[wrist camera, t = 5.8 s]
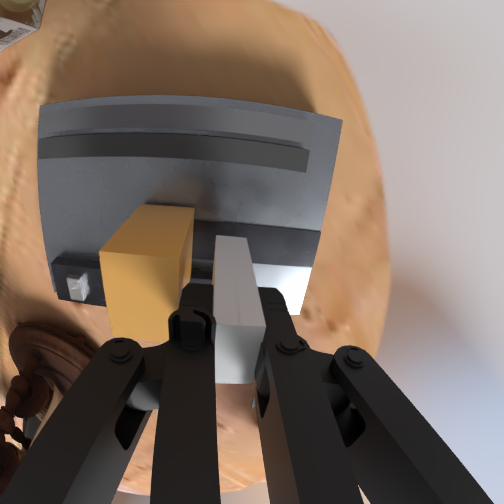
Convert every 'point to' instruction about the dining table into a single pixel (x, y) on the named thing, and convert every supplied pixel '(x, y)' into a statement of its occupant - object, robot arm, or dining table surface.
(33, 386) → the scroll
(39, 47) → the dining table surface
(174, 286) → the lever
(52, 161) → the breaker panel
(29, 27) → the coffee box
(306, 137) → the long gray panel bar
